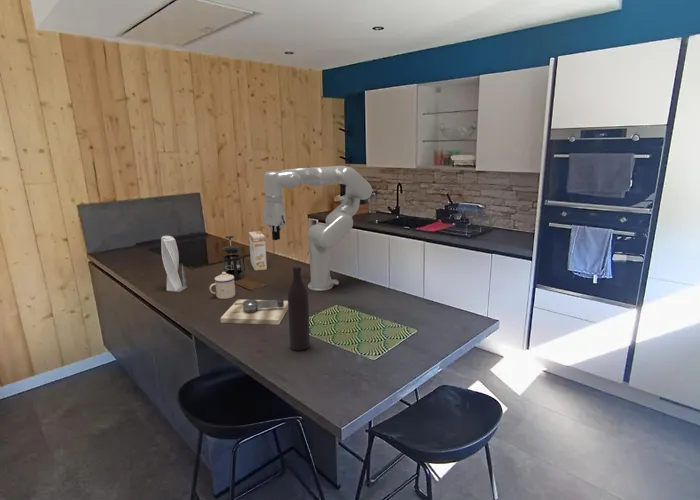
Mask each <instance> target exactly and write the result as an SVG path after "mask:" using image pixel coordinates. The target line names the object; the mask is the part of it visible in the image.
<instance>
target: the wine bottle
mask: <svg viewBox="0 0 700 500" xmlns="http://www.w3.org/2000/svg"><path fill="white" fill-rule="evenodd" d="M292 272H293V278H292V282H291V284H290V286H289V287H288V291H287V301H288V310H287V312H288V332H289V346H290V349H291V350H293V351H296V350H297V352H302V351H305V349H306V350H308V349H309V348H310V346H311V338H310V333H311V332H310V311H309V309H310V308H309V307H310V306H309V293H308V292H309V291H308V287H306V285H305V283H304V282H303V279H302V273H301V272H302V266H301V265H297V264H296V265H293V266H292Z"/></svg>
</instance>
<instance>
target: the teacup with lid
mask: <svg viewBox="0 0 700 500" xmlns="http://www.w3.org/2000/svg"><path fill="white" fill-rule="evenodd" d="M235 284H236V283H235V281H234V276H233V275H229V274H226V271H225V272H224V271H222V272H221V274H219V275H217V276H215V277H214V283H211V284H210V285H209V291H210V292H211V294H213V295H216V298H218V299H221V300H226V299H231V298H233V297H235V296H236V285H235ZM214 286H215V291H213V289H212V288H213V287H214Z"/></svg>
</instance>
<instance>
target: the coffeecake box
mask: <svg viewBox="0 0 700 500" xmlns="http://www.w3.org/2000/svg"><path fill="white" fill-rule="evenodd" d="M248 238H249V252H250V253H249V254H250V265H251V266H252V268H253V270H254V271H257V272H258V271H264V270H267V269H268V268H267V267H268V266H267V253H266V252H267V250H266V235H264V234H263V233H262V231H260V230H258V231H248Z"/></svg>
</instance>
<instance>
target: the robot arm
mask: <svg viewBox="0 0 700 500" xmlns="http://www.w3.org/2000/svg"><path fill="white" fill-rule="evenodd" d="M263 179H264V196H265V202H264V207H263V222H264V224H265V225H267V226H268V227H269V228H270V231H271V235H272V236H271V237H272V238H271V239H272V240H273V241H278V240H280V239H281V232H280V231H281V229H284V228H285V225H286V210H285V205H284V200H283V188H288V189H295V188H296V187H298V186H299V185H308V186H316V187H317V186H319V187H320V186H329V185H331V186H332V185H339V184H341V185H345V197H344V199H343V201H342V202H341V203H340V204H339V205H338V206H337V207H335V209H333V210H332V211H331V212H330V213H329V214H327V216H326V217H325V224H326V226H325V225H323V224H321V223H320V224H319V223H318V224H313V225H312V226H310V227H309V229H308V232H307V240H308V246H309V260H310V261H309V264H310V265H309V266H310V268H309V270H310V272H309V273H310V282H309V283H308V284H307V289H309V290H311V291H315V292H323V291H328V290H331V289H333V287H334V285H339V283H340V282H339V280H338V279H332V277H331V273H330V272H331V271H330V267H331V266H330V265H331V264H330V248H333V247H334V246H335V245H337V244H338V243H339V242H340V241H341V240H342V239H344V237H345V236H347V235H348V234H349V233H350V232H351V230H352V228H353V225H354V219H353V216H354V215H355V214H357V212H358V210H359V209H360V203H361V200H362V201H363V200H364V201H365V200H368V199H369V198H370V197H371V196H372V193H373V188H372V185H371V184H370V182H368V180H366V179H365V178H364V177H363V176H362V175H361V174H360V173H359V172H358V171H357V170H355V169H354V168H353V167H351V166H346V165H331V166H329V165H328V166H317V167H316V166H315V167H313V166H312V167H303V168H287V169H281V170H280V171H265V173H264V175H263Z"/></svg>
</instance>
